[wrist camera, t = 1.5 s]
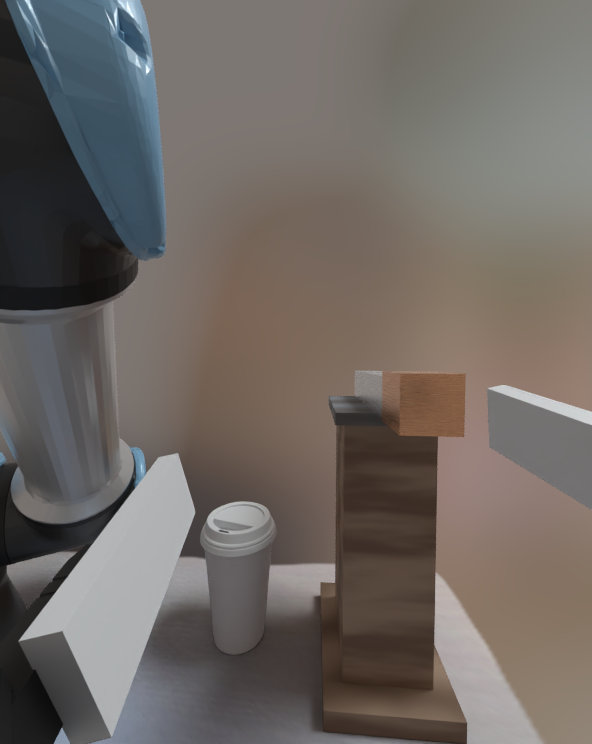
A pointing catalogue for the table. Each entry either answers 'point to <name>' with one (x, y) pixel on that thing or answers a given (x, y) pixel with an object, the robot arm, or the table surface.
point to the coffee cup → (238, 573)
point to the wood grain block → (415, 401)
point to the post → (384, 587)
